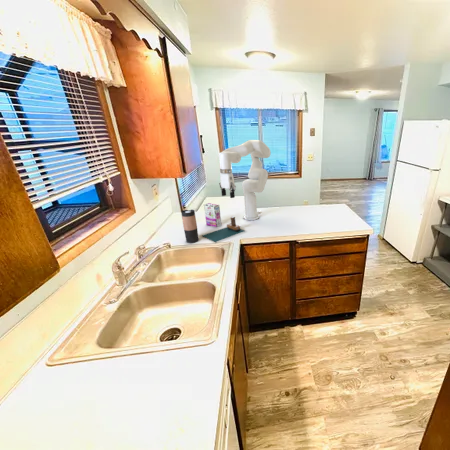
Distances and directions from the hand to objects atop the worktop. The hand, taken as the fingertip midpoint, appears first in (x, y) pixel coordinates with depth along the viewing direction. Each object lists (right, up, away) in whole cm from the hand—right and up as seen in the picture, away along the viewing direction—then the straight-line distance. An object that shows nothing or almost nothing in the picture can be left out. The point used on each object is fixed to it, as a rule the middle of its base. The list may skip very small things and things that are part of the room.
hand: (228, 196), depth 164 cm
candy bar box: (-15, -20, +15) cm, 30 cm away
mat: (-3, -26, 0) cm, 26 cm away
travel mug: (-20, -30, -11) cm, 38 cm away
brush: (+2, -23, +6) cm, 24 cm away
